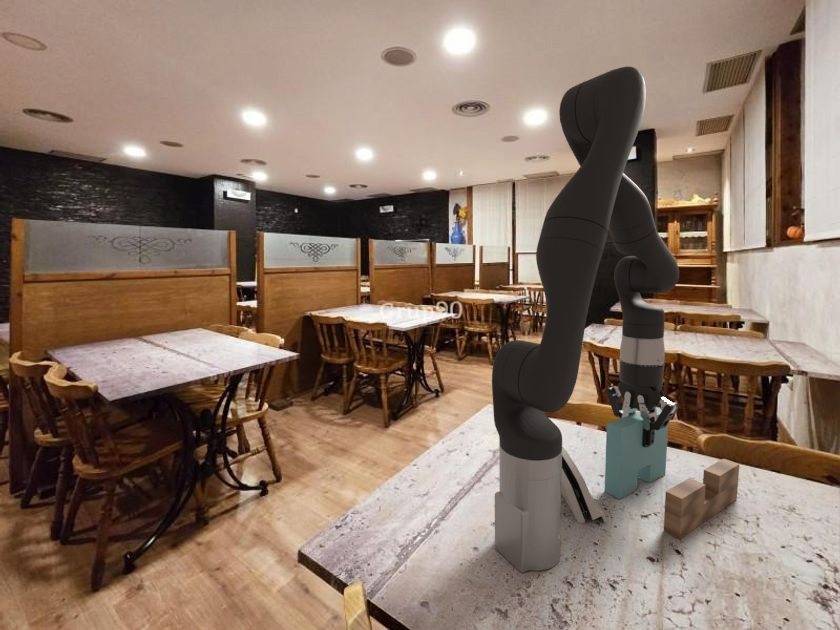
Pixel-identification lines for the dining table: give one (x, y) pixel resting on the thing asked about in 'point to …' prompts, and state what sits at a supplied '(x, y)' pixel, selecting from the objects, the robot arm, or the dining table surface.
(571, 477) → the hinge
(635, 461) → the teal plate
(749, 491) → the dining table surface
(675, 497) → the notched wooden block
